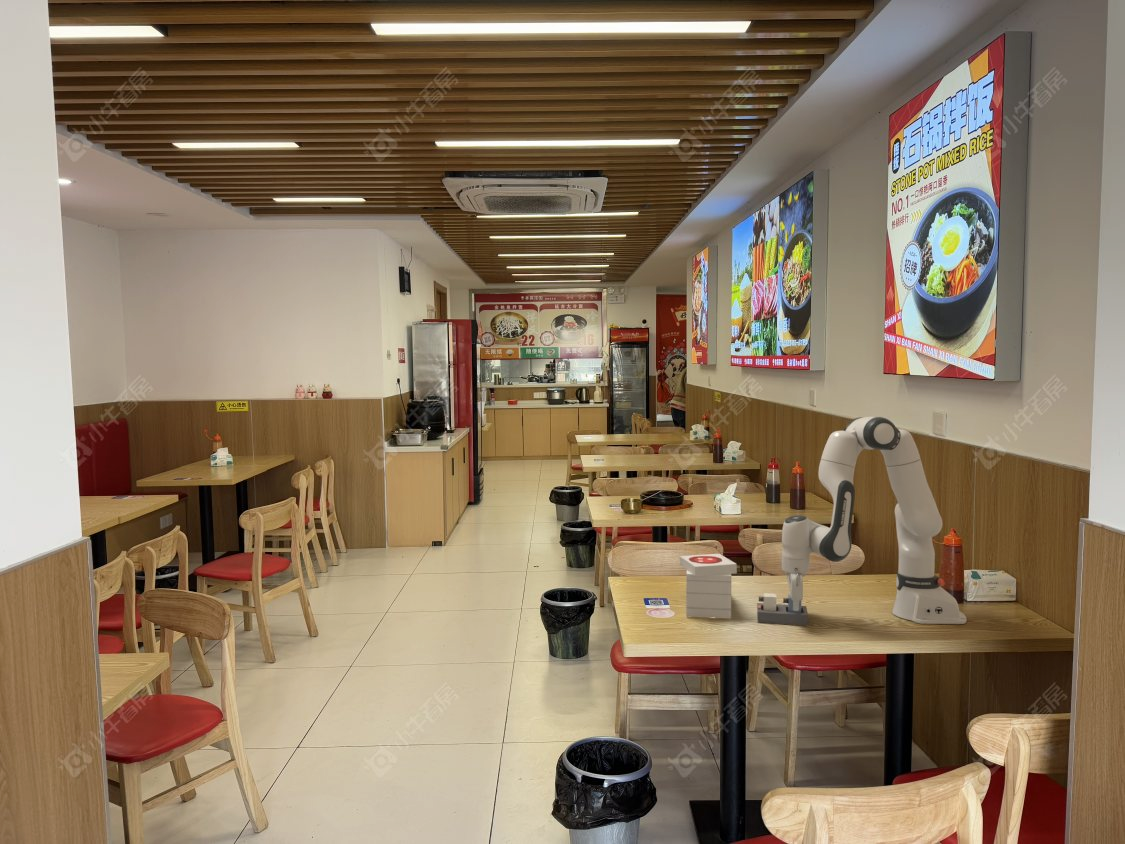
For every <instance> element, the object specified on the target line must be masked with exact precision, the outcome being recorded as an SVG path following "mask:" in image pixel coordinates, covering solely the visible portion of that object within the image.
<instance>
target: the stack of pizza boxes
mask: <svg viewBox="0 0 1125 844" xmlns="http://www.w3.org/2000/svg"><path fill="white" fill-rule="evenodd" d="M679 566H680V567H682V568H683V569H685V570H686V584H685V585H686V587H685V589H686V590H685V591H686V596H685V597H686V601H685V602H686V603H685V605H686V606H685V607H686V616H691V617H690V618H694V617H715V618H714V619H716V618H731V619H732V574H737V573H738V571H737V570H738V569H737V568H738V564H737V563H736V562H734V561H732V560H731V559H729V558H727V557H725V556H724V555H723V554H720V553H711V554H709V553H708V554H696V555H695V554H694V555H692V554H691V555H679Z"/></svg>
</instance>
